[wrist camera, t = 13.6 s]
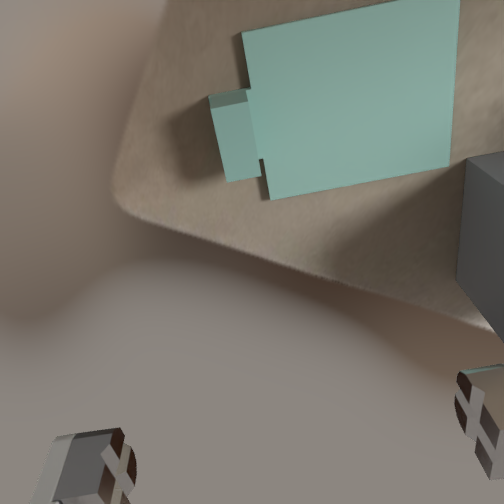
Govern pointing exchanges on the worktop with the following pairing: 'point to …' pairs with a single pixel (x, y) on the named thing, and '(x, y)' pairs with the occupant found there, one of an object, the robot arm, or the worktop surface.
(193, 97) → the worktop surface
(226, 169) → the lid
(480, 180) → the tub
